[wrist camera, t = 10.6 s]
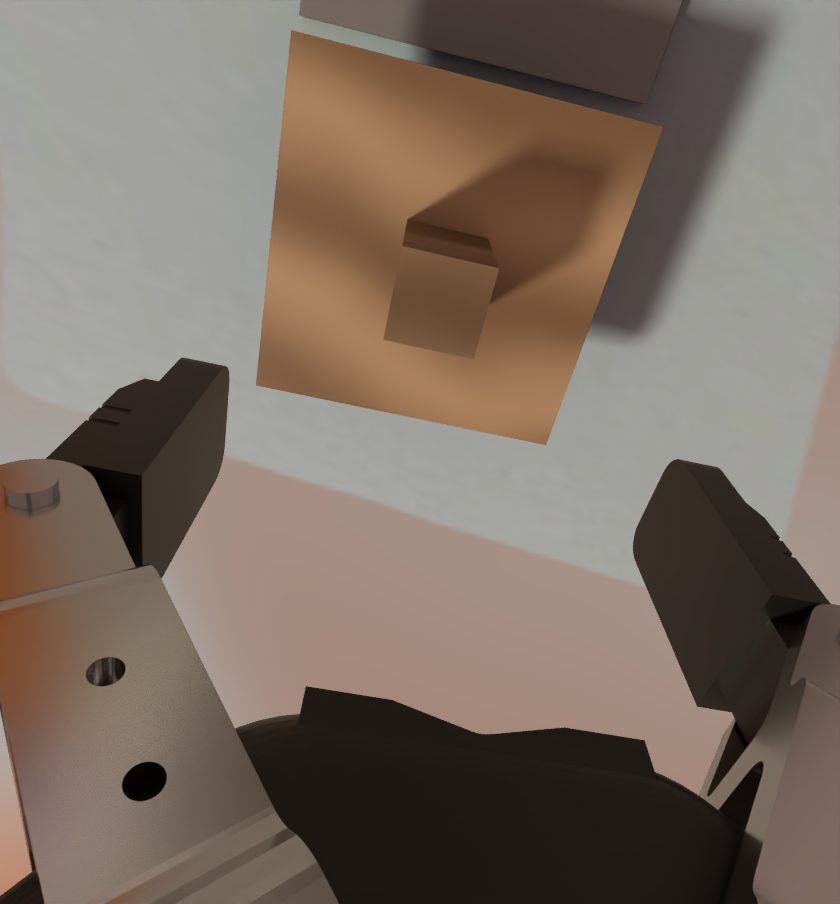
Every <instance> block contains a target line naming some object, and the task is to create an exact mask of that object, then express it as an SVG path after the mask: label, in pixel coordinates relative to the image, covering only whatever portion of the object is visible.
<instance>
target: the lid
mask: <svg viewBox="0 0 840 904" xmlns="http://www.w3.org/2000/svg"><path fill="white" fill-rule="evenodd" d="M662 129H663V127H662V126H658V125H654V124H650V123H646V122H642V121H639V120H635V119H631V118H627V117H623V116H619V115H616V114H612V113H608V112H604V111H600V110H596V109H592V108H589V107H585V106H581V105H577V104H573V103H569V102H565V101H562V100H558V99H554V98H550V97H546V96H542V95H538V94H535V93H531V92H527V91H523V90H519V89H515V88H512V87H508V86H504V85H500V84H496V83H492V82H488V81H485V80H481V79H477V78H473V77H469V76H465V75H461V74H458V73H454V72H450V71H446V70H442V69H438V68H435V67H431V66H427V65H423V64H419V63H415V62H411V61H408V60H404V59H400V58H396V57H392V56H388V55H384V54H381V53H377V52H373V51H369V50H365V49H361V48H358V47H354V46H350V45H346V44H342V43H338V42H334V41H331V40H327V39H323V38H319V37H315V36H311V35H307V34H304V33H300V32H296V31H292V30H291V39H290V49H289V59H288V69H287V79H286V89H285V99H284V109H283V119H282V129H281V139H280V150H279V160H278V170H277V180H276V190H275V200H274V210H273V220H272V230H271V240H270V250H269V260H268V270H267V280H266V290H265V300H264V310H263V321H262V331H261V341H260V351H259V361H258V371H257V381H256V385H257V386H262V387H267V388H272V389H276V390H281V391H286V392H291V393H296V394H301V395H306V396H311V397H315V398H320V399H325V400H330V401H335V402H340V403H345V404H349V405H354V406H359V407H364V408H369V409H374V410H379V411H383V412H388V413H393V414H398V415H403V416H408V417H413V418H418V419H422V420H427V421H432V422H437V423H442V424H447V425H452V426H456V427H461V428H466V429H471V430H476V431H481V432H486V433H490V434H495V435H500V436H505V437H510V438H515V439H520V440H525V441H529V442H534V443H539V444H544V445H546V443H547V441H548V438H549V435H550V433H551V430H552V427H553V425H554V422H555V419H556V416H557V414H558V411H559V408H560V406H561V403H562V400H563V397H564V395H565V392H566V389H567V387H568V384H569V381H570V378H571V376H572V373H573V370H574V368H575V365H576V362H577V360H578V357H579V354H580V351H581V349H582V346H583V343H584V341H585V338H586V335H587V332H588V330H589V327H590V324H591V322H592V319H593V316H594V313H595V311H596V308H597V305H598V303H599V300H600V297H601V295H602V292H603V289H604V286H605V284H606V281H607V278H608V276H609V273H610V270H611V267H612V265H613V262H614V259H615V257H616V254H617V251H618V248H619V246H620V243H621V240H622V238H623V235H624V232H625V230H626V227H627V224H628V221H629V219H630V216H631V213H632V211H633V208H634V205H635V202H636V200H637V197H638V194H639V192H640V189H641V186H642V184H643V181H644V178H645V175H646V173H647V170H648V167H649V165H650V162H651V159H652V156H653V154H654V151H655V148H656V146H657V143H658V140H659V137H660V135H661V132H662Z"/></svg>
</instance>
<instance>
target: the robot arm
mask: <svg viewBox="0 0 840 904" xmlns="http://www.w3.org/2000/svg"><path fill="white" fill-rule="evenodd" d="M228 392H229V371H228V368H227V367H226V366H222V365H217V364H212V363H207V362H202V361H197V360H192V359H187V358H181V359H180V360H178V362H177V363H176V364H175V365H174V366H173V367H172V368H171V369H170V370H169V371H168V372H167V373H166V374H165V376H164V377H163V378H162V379H161V380H160V381H154V380H149V379H143V380H140V381H138V382H135V383H133V384H130V385H128V386H125V387H123V388H120V389H118V390H117V391H116V392H115V393H114V394H113V395H112V396H111V397H110V398H109V399H108V400H107V401H105V402H104V403H103V404H102V408H100V407H99V408H98V409H97V410H96V411H95V412H94V413H93V414H92V415H91V416H90V417H89V421H85V422H84V423H83V424H82V425H80V426H79V427H78V428H77V429H76V430H75V431H74V432H73V433H72V434H71V435H70V436H69V437H68V438H67V439H66V440H65V441H64V442H63V443H62V444H61V445H60V446H59V447H58V448H57V449H56V450H54V451H53V452H52V453H51V455H49V456H48V457H47V458H46V459H30V460H21V461H15V462H10V463H6V464H2V465H0V712H1V716H2V721H3V726H4V732H5V737H6V742H7V747H8V752H9V757H10V762H11V767H12V772H13V777H14V782H15V787H16V792H17V797H18V802H19V808H20V813H21V818H22V824H23V829H24V834H25V840H26V845H27V850H28V855H29V860H30V865H31V870H32V872H31V873H30V874H29V875H27V876H26V877H25V878H23V879H22V880H21V881H19V882H18V883H17V884H16V885H14V886H13V887H12V888H11V889H9V890H8V891H6V892H5V893H4V894H2V895H1V896H0V904H840V606H839V605H834V604H830V603H829V601H828V600H827V599H826V598H825V596H824V595H823V594H822V592H821V591H820V590H819V588H818V587H817V586H816V584H815V583H814V582H813V580H812V579H811V578H810V576H809V575H808V574H807V573H806V571H805V570H804V569H803V567H802V566H801V565H800V563H799V562H798V561H797V560H796V558H793V557H791V555H792V553H791V552H790V551H789V549H788V548H787V547H786V545H785V544H784V543H783V541H779V538H780V537H779V536H778V535H777V534H776V532H775V531H774V530H773V528H772V527H771V526H770V524H769V523H768V522H767V520H766V519H765V518H764V517H763V516H762V515H760V514H759V513H758V512H757V511H755V510H754V509H753V508H752V507H750V506H749V505H748V504H747V503H745V501H744V500H743V499H742V497H741V496H740V495H739V493H738V492H737V491H736V489H735V488H734V487H733V485H732V484H731V483H730V481H729V480H728V479H727V477H726V476H725V475H724V473H723V472H722V471H721V470H720V469H719V468H717V467H713V466H708V465H703V464H698V463H694V462H689V461H684V460H679V459H677V460H674V461H672V462H671V463H670V464H669V465H668V466H667V467H666V469H665V471H664V472H663V475H662V477H661V479H660V481H659V483H658V485H657V487H656V489H655V491H654V493H653V495H652V497H651V499H650V501H649V503H648V505H647V507H646V509H645V511H644V514H643V516H642V518H641V520H640V522H639V524H638V526H637V528H636V532H635V536H634V541H633V553H634V558H635V561H636V564H637V566H638V568H639V571H640V573H641V575H642V578H643V580H644V583H645V585H646V587H647V590H648V592H649V594H650V597H651V599H652V601H653V604H654V606H655V608H656V611H657V613H658V615H659V618H660V620H661V622H662V625H663V627H664V629H665V632H666V634H667V637H668V639H669V641H670V643H671V646H672V648H673V651H674V653H675V655H676V657H677V660H678V662H679V665H680V667H681V669H682V672H683V674H684V676H685V679H686V681H687V683H688V686H689V688H690V691H691V693H692V695H693V697H694V700H695V702H696V705H697V707H704V708H709V709H716V710H722V711H728V712H732V713H733V715H734V720H733V721H732V723H731V724H730V725H729V727H728V728H727V729H726V731H725V733H724V734H723V737H722V739H721V741H720V744H719V746H718V749H717V751H716V754H715V756H714V759H713V761H712V764H711V766H710V769H709V771H708V774H707V776H706V779H705V781H704V784H703V786H702V788H701V791H700V794H699V796H698V795H697V794H695V793H694V792H692V791H690V790H689V789H687V788H686V787H684V786H682V785H681V784H679V783H677V782H675V781H673V780H671V779H669V778H667V777H665V776H663V775H661V774H658V773H656V772H654V768H653V765H652V762H651V759H650V756H649V753H648V750H647V747H646V744H645V741H644V740H638V739H632V738H626V737H620V736H614V735H607V734H601V733H595V732H589V731H582V730H576V729H570V728H555V729H544V730H533V731H522V732H511V733H501V734H489V735H488V734H487V735H485V734H478V733H475V732H471V731H469V730H466V729H464V728H461V727H458V726H456V725H454V724H451V723H449V722H446V721H444V720H441V719H438V718H436V717H433V716H430V715H428V714H426V713H423V712H421V711H418V710H416V709H413V708H411V707H408V706H406V705H403V704H401V703H398V702H395V701H393V700H388V699H382V698H376V697H369V696H363V695H357V694H351V693H344V692H338V691H332V690H326V689H319V688H312V687H307V686H306V689H305V694H304V698H303V703H302V708H301V712H300V714H297V715H286V716H279V717H274V718H268V719H263V720H259V721H256V722H253V723H250V724H247V725H244V726H241V727H238V728H236V729H235V728H234V726H233V724H232V722H231V720H230V718H229V716H228V714H227V712H226V710H225V708H224V706H223V704H222V702H221V700H220V698H219V695H218V693H217V691H216V689H215V687H214V685H213V683H212V681H211V679H210V677H209V675H208V673H207V671H206V669H205V667H204V665H203V663H202V661H201V659H200V657H199V655H198V653H197V651H196V649H195V647H194V645H193V643H192V641H191V638H190V636H189V634H188V633H187V630H186V628H185V626H184V624H183V622H182V620H181V618H180V616H179V614H178V612H177V610H176V608H175V606H174V604H173V602H172V600H171V598H170V596H169V594H168V592H167V590H166V588H165V586H164V584H163V582H162V580H161V578H162V577H163V575H164V573H165V571H166V570H167V568H168V566H169V564H170V562H171V561H172V559H173V557H174V555H175V553H176V551H177V550H178V548H179V546H180V544H181V542H182V540H183V539H184V537H185V535H186V533H187V532H188V530H189V528H190V526H191V524H192V523H193V521H194V519H195V517H196V515H197V514H198V512H199V510H200V508H201V506H202V504H203V503H204V501H205V499H206V497H207V495H208V494H209V492H210V490H211V488H212V486H213V484H214V483H215V481H216V479H217V476H218V474H219V471H220V467H221V464H222V460H223V455H224V448H225V435H226V420H227V406H228Z"/></svg>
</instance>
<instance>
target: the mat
mask: <svg viewBox="0 0 840 904" xmlns="http://www.w3.org/2000/svg"><path fill="white" fill-rule="evenodd" d="M681 3H682V0H301V3H300V13H299V15H301V16H303V17H307V18H310V19H314V20H318V21H322V22H326V23H330V24H334V25H338V26H342V27H345V28H349V29H353V30H357V31H361V32H365V33H369V34H373V35H377V36H380V37H384V38H388V39H392V40H396V41H400V42H404V43H408V44H412V45H416V46H419V47H423V48H427V49H431V50H435V51H439V52H443V53H447V54H451V55H454V56H458V57H462V58H466V59H470V60H474V61H478V62H482V63H486V64H490V65H493V66H497V67H501V68H505V69H509V70H513V71H517V72H521V73H525V74H528V75H532V76H536V77H540V78H544V79H548V80H552V81H556V82H560V83H564V84H567V85H571V86H575V87H579V88H583V89H587V90H591V91H595V92H599V93H602V94H606V95H610V96H614V97H618V98H622V99H626V100H630V101H634V102H637V103H641V104H647V101H648V98H649V95H650V92H651V89H652V86H653V84H654V81H655V78H656V75H657V72H658V69H659V66H660V63H661V61H662V58H663V55H664V52H665V49H666V46H667V43H668V40H669V38H670V35H671V32H672V29H673V26H674V23H675V20H676V17H677V15H678V12H679V9H680V6H681Z"/></svg>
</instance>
